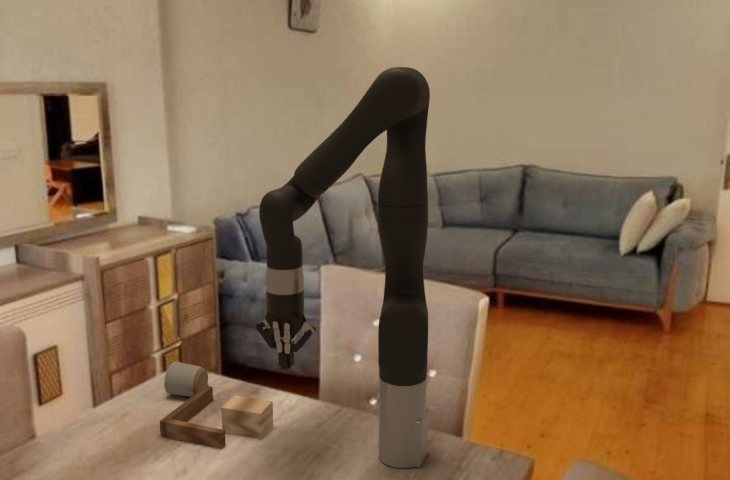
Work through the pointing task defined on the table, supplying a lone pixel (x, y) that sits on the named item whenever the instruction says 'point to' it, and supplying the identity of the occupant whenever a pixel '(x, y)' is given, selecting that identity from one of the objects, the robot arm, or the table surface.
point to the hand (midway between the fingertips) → (286, 368)
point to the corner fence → (189, 432)
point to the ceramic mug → (185, 379)
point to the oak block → (247, 417)
